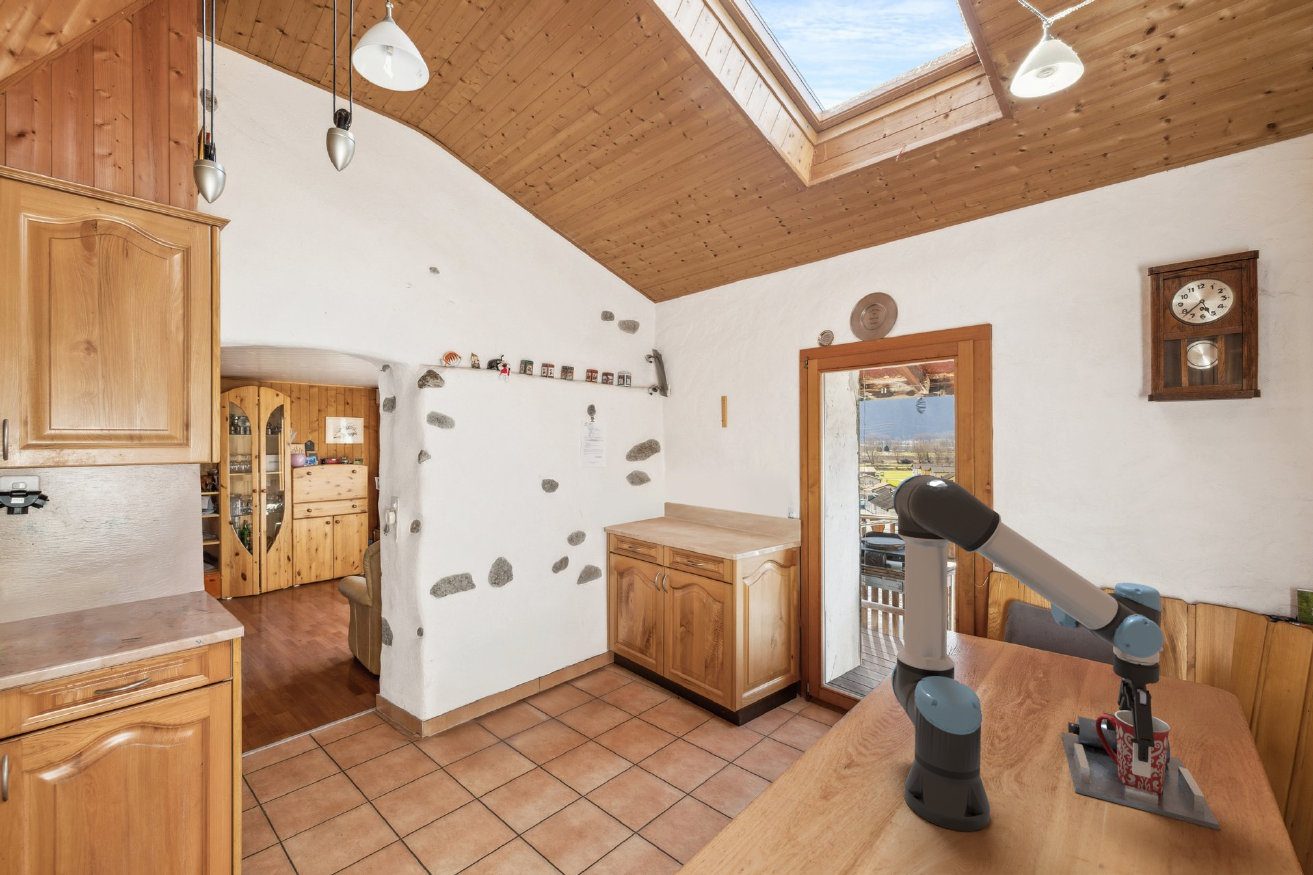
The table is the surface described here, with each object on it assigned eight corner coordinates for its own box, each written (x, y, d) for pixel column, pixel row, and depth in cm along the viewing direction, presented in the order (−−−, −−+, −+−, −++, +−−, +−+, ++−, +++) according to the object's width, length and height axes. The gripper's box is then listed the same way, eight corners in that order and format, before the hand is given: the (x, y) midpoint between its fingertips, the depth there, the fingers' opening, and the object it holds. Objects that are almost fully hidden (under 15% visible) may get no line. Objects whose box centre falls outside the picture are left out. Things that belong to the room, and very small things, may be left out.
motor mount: (1219, 830, 108) (1220, 785, 108) (1075, 792, 119) (1076, 751, 119) (1179, 762, 131) (1179, 725, 131) (1061, 736, 142) (1062, 701, 142)
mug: (1178, 790, 119) (1179, 725, 119) (1156, 802, 114) (1157, 734, 114) (1108, 759, 130) (1108, 699, 130) (1085, 769, 126) (1086, 708, 126)
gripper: (1176, 684, 109) (1173, 796, 109) (1144, 644, 130) (1142, 737, 130) (1125, 675, 112) (1123, 783, 113) (1103, 637, 134) (1101, 728, 134)
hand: (1133, 759), depth 121 cm, fingers open, 13 cm apart
